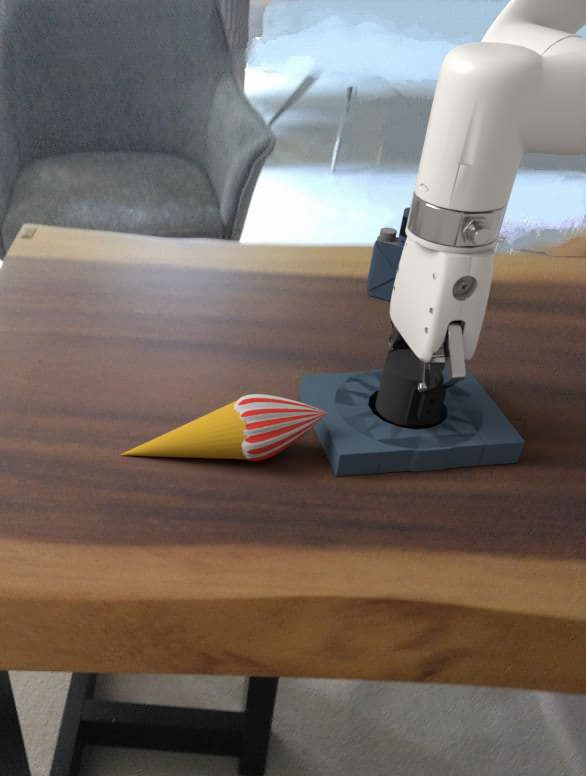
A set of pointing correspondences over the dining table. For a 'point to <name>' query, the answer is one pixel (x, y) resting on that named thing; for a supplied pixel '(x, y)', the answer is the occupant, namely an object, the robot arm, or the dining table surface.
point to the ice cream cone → (238, 430)
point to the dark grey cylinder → (399, 384)
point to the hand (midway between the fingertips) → (408, 402)
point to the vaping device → (386, 260)
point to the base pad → (402, 445)
